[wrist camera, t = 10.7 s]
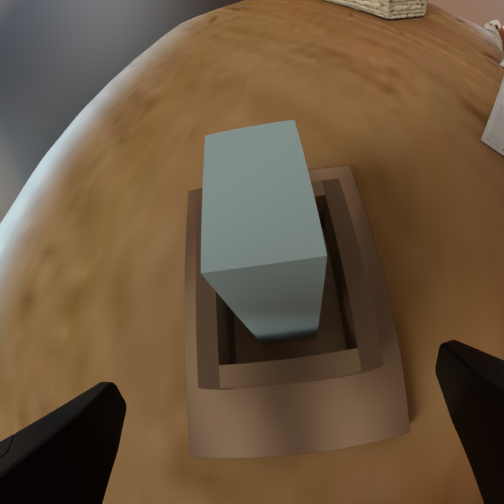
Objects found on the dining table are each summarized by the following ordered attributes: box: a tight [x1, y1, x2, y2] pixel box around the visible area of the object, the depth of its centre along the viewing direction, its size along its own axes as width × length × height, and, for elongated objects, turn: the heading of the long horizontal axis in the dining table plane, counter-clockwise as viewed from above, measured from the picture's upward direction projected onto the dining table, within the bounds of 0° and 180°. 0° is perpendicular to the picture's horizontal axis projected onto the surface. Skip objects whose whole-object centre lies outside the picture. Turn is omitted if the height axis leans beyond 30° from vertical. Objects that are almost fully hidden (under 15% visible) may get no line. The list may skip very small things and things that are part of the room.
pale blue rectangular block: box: [201, 120, 327, 344], centre depth 12 cm, size 3×5×10 cm, turn 4°
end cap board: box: [185, 165, 410, 458], centre depth 16 cm, size 12×18×4 cm, turn 5°
